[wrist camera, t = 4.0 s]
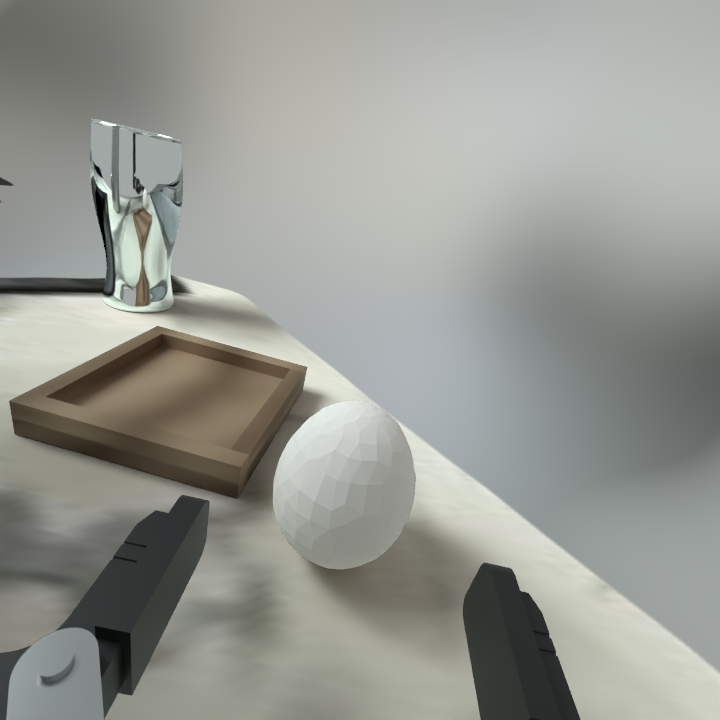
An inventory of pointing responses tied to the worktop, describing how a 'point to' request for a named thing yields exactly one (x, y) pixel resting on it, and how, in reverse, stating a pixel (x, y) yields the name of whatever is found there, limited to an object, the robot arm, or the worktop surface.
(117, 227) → the beer glass
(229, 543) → the worktop surface
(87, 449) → the walnut tray
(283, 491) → the egg
